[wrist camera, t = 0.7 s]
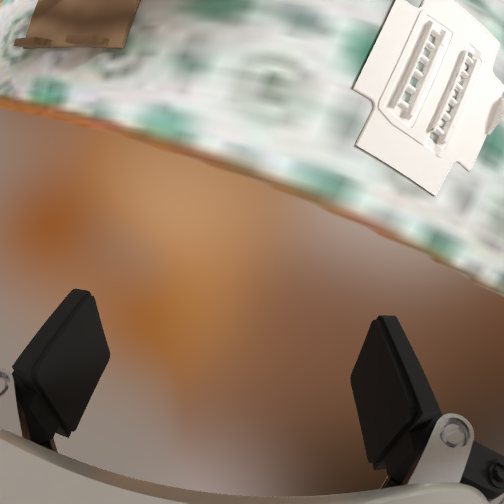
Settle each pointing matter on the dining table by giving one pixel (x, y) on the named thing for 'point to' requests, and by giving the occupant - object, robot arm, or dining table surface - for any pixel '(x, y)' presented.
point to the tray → (430, 91)
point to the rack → (80, 24)
